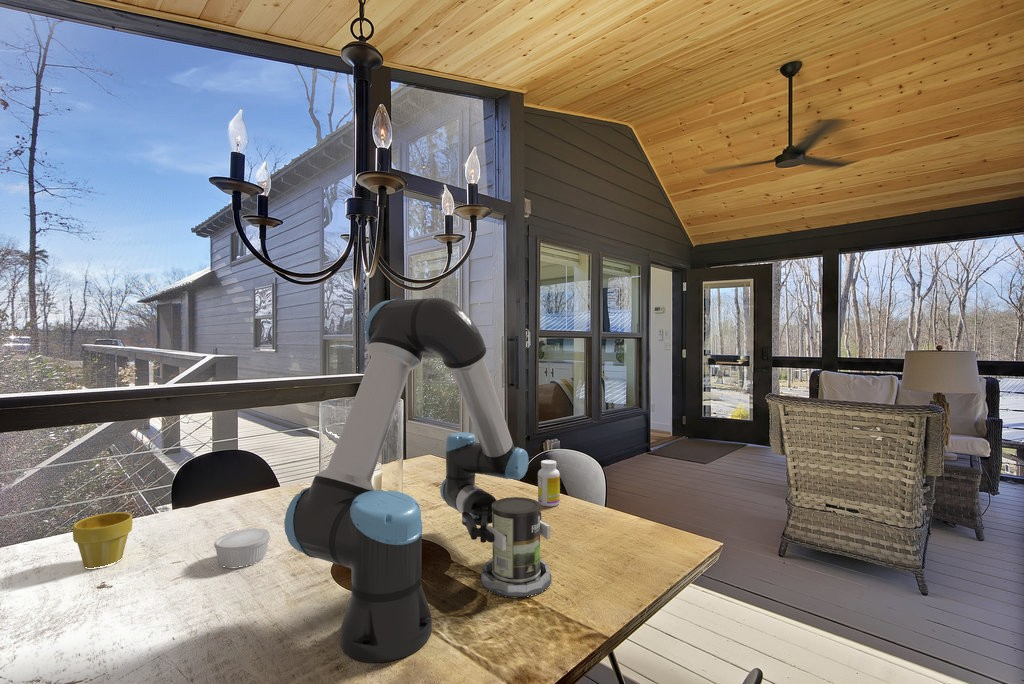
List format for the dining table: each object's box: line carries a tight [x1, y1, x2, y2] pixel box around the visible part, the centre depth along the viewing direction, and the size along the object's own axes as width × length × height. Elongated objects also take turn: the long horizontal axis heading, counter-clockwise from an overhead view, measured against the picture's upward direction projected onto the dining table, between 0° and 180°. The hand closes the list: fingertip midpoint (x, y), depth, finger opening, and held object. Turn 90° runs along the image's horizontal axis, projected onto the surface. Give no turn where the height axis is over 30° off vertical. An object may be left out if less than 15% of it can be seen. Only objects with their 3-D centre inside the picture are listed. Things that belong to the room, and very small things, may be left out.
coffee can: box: [491, 496, 542, 583], centre depth 104 cm, size 10×10×14 cm
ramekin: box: [213, 527, 271, 568], centre depth 113 cm, size 11×11×5 cm
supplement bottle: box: [537, 459, 561, 508], centre depth 151 cm, size 7×7×13 cm
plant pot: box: [72, 511, 133, 568], centre depth 111 cm, size 10×10×10 cm
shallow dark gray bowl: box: [480, 557, 552, 598], centre depth 104 cm, size 15×15×2 cm
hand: (527, 538), depth 100 cm, fingers closed on coffee can, 10 cm apart
